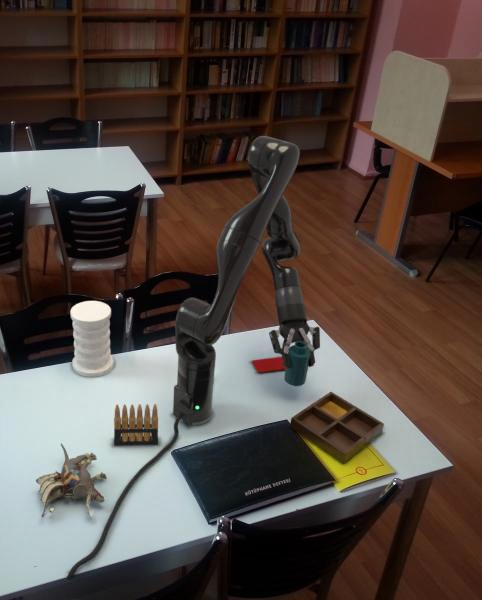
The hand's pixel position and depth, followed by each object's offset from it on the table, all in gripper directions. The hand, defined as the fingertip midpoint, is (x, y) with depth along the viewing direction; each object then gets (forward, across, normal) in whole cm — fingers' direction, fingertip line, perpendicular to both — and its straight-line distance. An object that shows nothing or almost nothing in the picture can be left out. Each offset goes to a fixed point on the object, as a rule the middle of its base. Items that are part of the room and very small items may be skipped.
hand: (299, 367), depth 161 cm
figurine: (+24, -61, -7) cm, 66 cm away
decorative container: (-9, -52, +26) cm, 59 cm away
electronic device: (-4, +1, +19) cm, 20 cm away
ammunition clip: (+15, -44, +2) cm, 47 cm away
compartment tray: (+17, +6, -2) cm, 18 cm away
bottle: (+3, 0, +5) cm, 6 cm away
